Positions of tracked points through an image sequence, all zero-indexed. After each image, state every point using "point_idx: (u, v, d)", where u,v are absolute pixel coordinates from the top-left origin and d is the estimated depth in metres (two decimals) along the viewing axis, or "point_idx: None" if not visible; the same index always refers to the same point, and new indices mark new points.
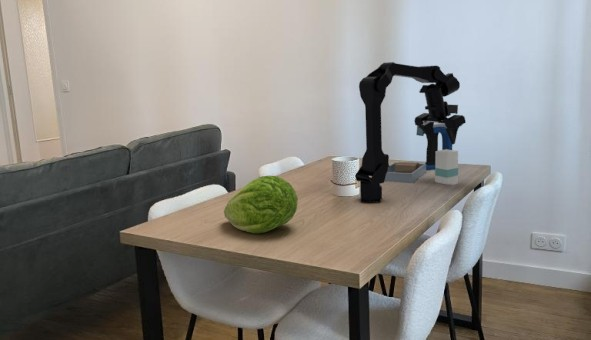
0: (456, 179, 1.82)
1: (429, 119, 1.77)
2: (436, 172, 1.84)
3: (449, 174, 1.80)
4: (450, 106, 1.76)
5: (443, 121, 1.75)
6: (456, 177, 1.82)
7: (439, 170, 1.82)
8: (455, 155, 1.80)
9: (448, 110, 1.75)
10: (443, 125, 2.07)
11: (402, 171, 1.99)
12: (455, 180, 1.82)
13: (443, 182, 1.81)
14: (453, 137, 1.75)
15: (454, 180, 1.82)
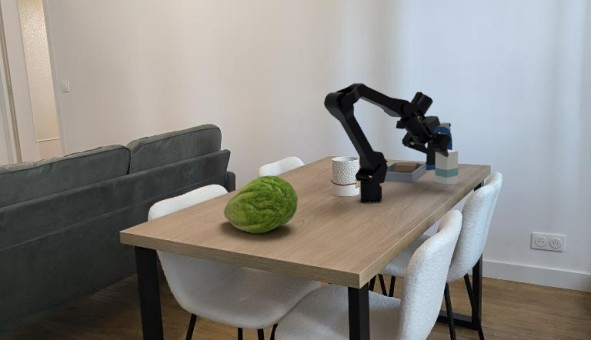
0: (456, 179, 1.82)
1: (416, 143, 1.75)
2: (436, 172, 1.84)
3: (449, 174, 1.80)
4: (431, 123, 1.72)
5: (430, 141, 1.73)
6: (456, 177, 1.82)
7: (439, 170, 1.82)
8: (455, 155, 1.80)
9: (430, 129, 1.72)
10: (443, 125, 2.06)
11: (402, 171, 1.99)
12: (455, 180, 1.82)
13: (443, 182, 1.81)
14: (445, 152, 1.73)
15: (454, 180, 1.82)
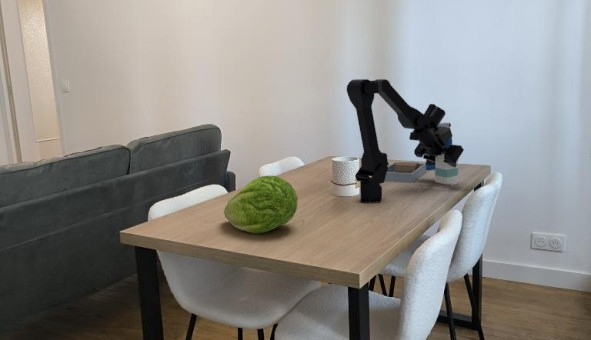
0: (456, 179, 1.82)
1: (428, 154, 1.79)
2: (436, 172, 1.84)
3: (449, 174, 1.80)
4: (443, 135, 1.76)
5: (442, 152, 1.77)
6: (456, 177, 1.82)
7: (439, 170, 1.82)
8: None
9: (443, 141, 1.76)
10: (443, 125, 2.07)
11: (402, 171, 1.99)
12: (455, 180, 1.82)
13: (443, 182, 1.81)
14: (453, 162, 1.79)
15: (454, 180, 1.82)
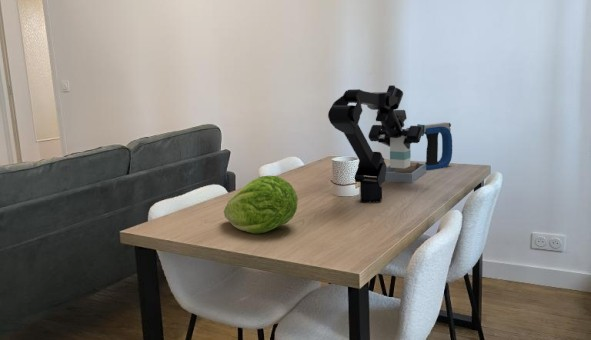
0: (409, 161, 1.85)
1: (387, 136, 1.77)
2: (391, 155, 1.83)
3: (405, 156, 1.81)
4: (401, 117, 1.77)
5: (401, 134, 1.77)
6: (409, 159, 1.84)
7: (395, 153, 1.82)
8: None
9: (402, 122, 1.76)
10: (443, 125, 2.07)
11: (402, 171, 1.99)
12: (409, 162, 1.84)
13: (400, 165, 1.82)
14: (409, 144, 1.80)
15: (408, 162, 1.84)
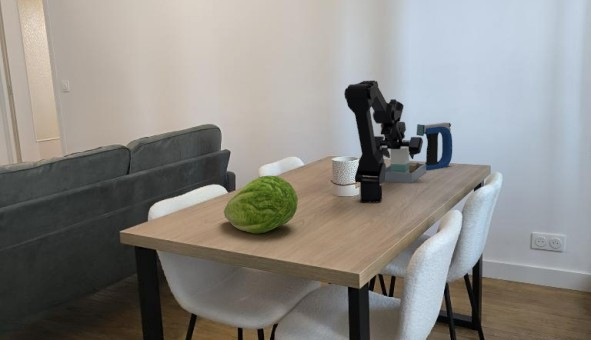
0: None
1: (389, 148, 1.85)
2: (392, 168, 1.92)
3: (405, 168, 1.90)
4: (402, 129, 1.85)
5: (402, 145, 1.86)
6: (408, 171, 1.94)
7: (395, 166, 1.91)
8: (408, 150, 1.92)
9: (403, 134, 1.85)
10: (443, 125, 2.06)
11: None
12: None
13: None
14: None
15: None
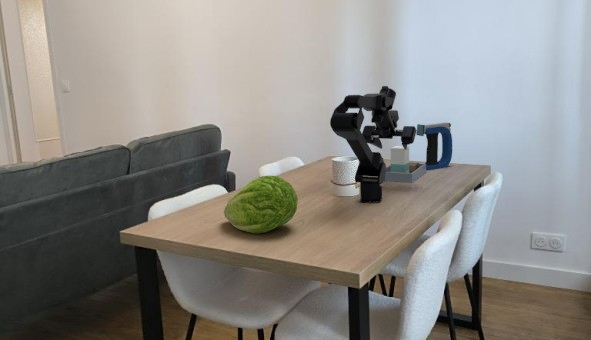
0: None
1: (381, 137, 1.76)
2: (392, 168, 1.92)
3: (405, 168, 1.90)
4: (394, 117, 1.76)
5: (394, 135, 1.77)
6: (408, 171, 1.94)
7: (395, 166, 1.91)
8: (408, 150, 1.92)
9: (395, 123, 1.76)
10: (443, 125, 2.06)
11: None
12: None
13: None
14: None
15: None
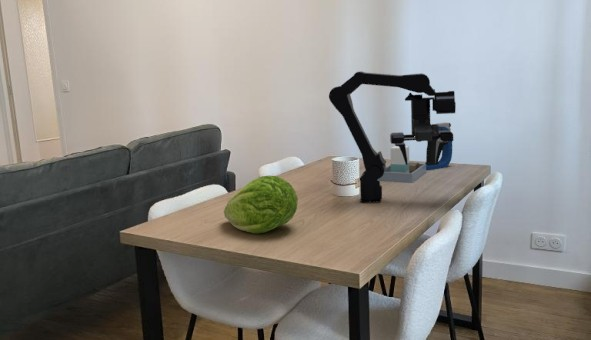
0: None
1: None
2: (392, 168, 1.92)
3: (405, 168, 1.90)
4: (414, 127, 1.53)
5: None
6: (408, 171, 1.94)
7: (395, 166, 1.91)
8: (408, 150, 1.92)
9: (412, 129, 1.55)
10: (443, 125, 2.06)
11: None
12: None
13: None
14: (403, 156, 1.60)
15: None
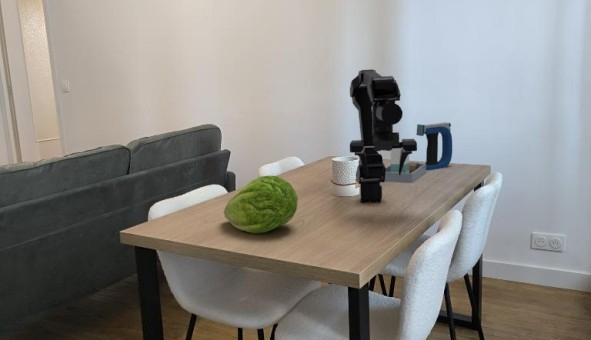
0: None
1: None
2: (392, 168, 1.92)
3: (405, 168, 1.90)
4: (374, 135, 1.41)
5: None
6: (408, 171, 1.94)
7: (395, 166, 1.91)
8: None
9: None
10: (443, 125, 2.07)
11: None
12: None
13: None
14: None
15: None
